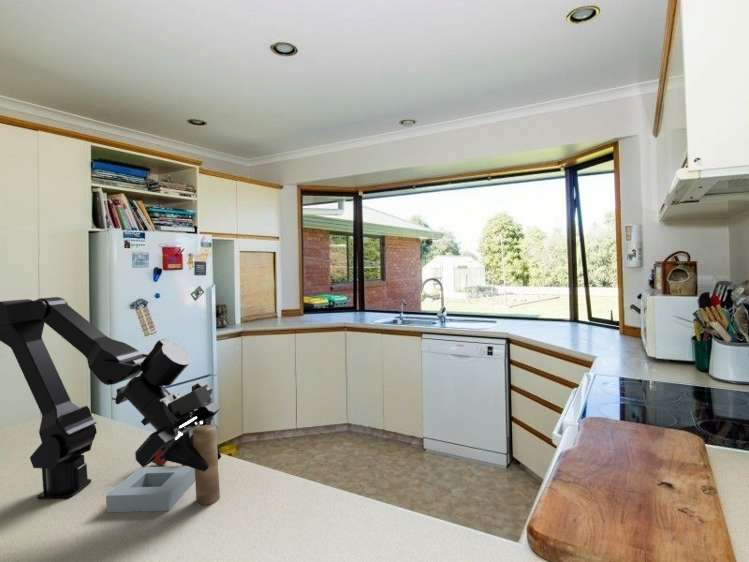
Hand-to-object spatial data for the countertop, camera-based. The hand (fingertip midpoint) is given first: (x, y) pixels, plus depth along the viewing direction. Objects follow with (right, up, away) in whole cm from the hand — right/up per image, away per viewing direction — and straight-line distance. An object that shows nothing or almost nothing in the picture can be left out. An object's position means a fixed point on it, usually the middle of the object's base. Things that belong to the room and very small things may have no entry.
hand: (213, 464), depth 81 cm
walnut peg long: (-1, -7, 0) cm, 7 cm away
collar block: (-12, -7, +3) cm, 14 cm away
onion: (-17, -7, +16) cm, 24 cm away
